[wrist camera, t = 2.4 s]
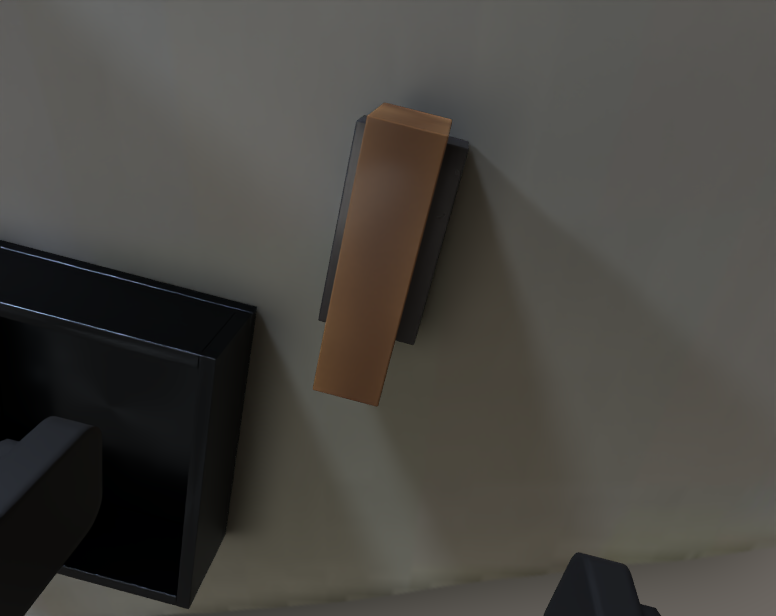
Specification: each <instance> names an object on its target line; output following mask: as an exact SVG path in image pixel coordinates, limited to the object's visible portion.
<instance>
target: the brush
mask: <svg viewBox="0 0 776 616" xmlns="http://www.w3.org/2000/svg"><path fill="white" fill-rule="evenodd" d="M451 124H452V120H451V119H448V118H444V117H440V116H436V115H432V114H428V113H424V112H420V111H416V110H412V109H408V108H404V107H400V106H397V105H393V104H389V103H383V104H382V105H381V106H379V107H378V108H377V109H375V110H374V111H373V112H372V113H370V114H369V115H368V116H367V115H364V116H363V117H361V118H360V119H359V120H357V121H356V126H355V132H354V137H353V142H352V147H351V152H350V158H349V163H348V168H347V173H346V178H345V184H344V189H343V194H342V199H341V204H340V210H339V215H338V220H337V225H336V230H335V236H334V241H333V246H332V251H331V256H330V262H329V267H328V272H327V277H326V282H325V288H324V293H323V298H322V303H321V308H320V313H319V321H323V322H326V325H325V330H324V335H323V340H322V345H321V350H320V355H319V360H318V365H317V370H316V375H315V380H314V385H313V390H316V391H320V392H324V393H327V394H331V395H335V396H339V397H343V398H346V399H350V400H354V401H358V402H362V403H365V404H369V405H373V406H378V404H379V400H380V397H381V393H382V389H383V385H384V381H385V378H386V374H387V370H388V366H389V362H390V359H391V355H392V351H393V347H394V343H395V340H396V341H400V342H404V343H407V344H411V345H414V343H415V339H416V336H417V332H418V329H419V325H420V322H421V318H422V314H423V311H424V307H425V304H426V300H427V297H428V293H429V289H430V286H431V282H432V279H433V275H434V272H435V268H436V265H437V261H438V257H439V254H440V250H441V247H442V243H443V240H444V236H445V232H446V229H447V225H448V222H449V218H450V215H451V211H452V208H453V204H454V200H455V197H456V193H457V190H458V186H459V183H460V179H461V175H462V172H463V168H464V165H465V161H466V158H467V154H468V150H469V142H468V141H465V140H461V139H457V138H453V137H449V134H450V129H451Z"/></svg>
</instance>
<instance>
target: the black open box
mask: <svg viewBox="0 0 776 616" xmlns="http://www.w3.org/2000/svg"><path fill="white" fill-rule="evenodd" d="M256 311H257V307H255V306H251V305H247V304H243V303H240V302H236V301H232V300H228V299H224V298H220V297H217V296H213V295H209V294H205V293H201V292H197V291H194V290H190V289H186V288H182V287H178V286H174V285H171V284H167V283H163V282H159V281H155V280H151V279H148V278H144V277H140V276H136V275H132V274H128V273H125V272H121V271H117V270H113V269H109V268H105V267H102V266H98V265H94V264H90V263H86V262H82V261H79V260H75V259H71V258H67V257H63V256H59V255H56V254H52V253H48V252H44V251H40V250H37V249H33V248H29V247H25V246H21V245H17V244H14V243H10V242H6V241H2V240H0V442H1V441H3V440H5V439H11V440H15V441H20V440H22V439H23V438H24V437H25V436H26V435H27V434H28V433H29V432H30V431H32V430H33V429H34V428H35V427H36V426H37V425H38V424H39V423H40V422H42V421H43V420H44V419H46V418H48V417H50V416H57V417H61V418H65V419H68V420H72V421H76V422H80V423H84V424H88V425H92V426H96V427H98V428H99V429H100V430H101V433H102V501H101V505H100V509H99V512H98V514H97V517H96V519H95V521H94V523H93V525H92V527H91V528H90V530H89V531H88V533H87V534H86V536H85V537H84V538H83V540H82V541H81V542H80V543H79V545H78V546H77V547H76V549H75V550H74V551H73V552H72V554H71V555H70V556H69V558H68V559H67V560H66V562H65V563H64V564H63V565H62V567H61V568H60V569H59V571H58V572H57V573H58V574H62V575H65V576H69V577H73V578H76V579H80V580H84V581H88V582H91V583H95V584H99V585H102V586H106V587H110V588H113V589H117V590H121V591H124V592H128V593H132V594H135V595H139V596H143V597H146V598H150V599H154V600H157V601H161V602H165V603H168V604H172V605H176V606H179V607H183V608H186V609H189V608H190V606H191V604H192V602H193V600H194V597H195V595H196V593H197V591H198V589H199V587H200V585H201V583H202V581H203V579H204V577H205V575H206V573H207V571H208V569H209V567H210V565H211V563H212V561H213V559H214V557H215V555H216V553H217V551H218V549H219V547H220V545H221V542H222V540H223V538H224V536H225V534H226V527H227V520H228V513H229V506H230V498H231V491H232V484H233V477H234V469H235V462H236V455H237V448H238V441H239V433H240V426H241V419H242V412H243V404H244V397H245V390H246V383H247V376H248V368H249V361H250V354H251V347H252V339H253V332H254V325H255V318H256Z"/></svg>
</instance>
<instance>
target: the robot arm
mask: <svg viewBox="0 0 776 616" xmlns="http://www.w3.org/2000/svg"><path fill="white" fill-rule="evenodd" d="M101 501H102V433H101V430H100V429H99V428H98V427H96V426H92V425H88V424H84V423H80V422H76V421H72V420H68V419H65V418H61V417H57V416H50V417H48V418H46V419H44V420H43V421H42V422H40V423H39V424H38V425H37V426H36V427H35V428H34V429H33V430H32V431H30V432H29V433H28V434H27V435H26V436H25V437H24V438H23V439H22V440H20V441H15V440H11V439H5V440H3V441H1V442H0V616H24V615H25V614H26V612H27V611H28V610H29V608H30V607H31V606H32V604H33V603H34V602H35V601H36V599H37V598H38V597H39V595H40V594H41V593H42V591H43V590H44V589H45V588H46V586H47V585H48V584H49V582H50V581H51V580H52V578H53V577H54V576H55V575H56V573H57V572H58V571H59V569H60V568H61V567H62V565H63V564H64V563H65V562H66V560H67V559H68V558H69V556H70V555H71V554H72V552H73V551H74V550H75V549H76V547H77V546H78V545H79V543H80V542H81V541H82V540H83V538H84V537H85V536H86V534H87V533H88V531H89V530H90V528H91V527H92V525H93V523H94V521H95V519H96V517H97V514H98V512H99V509H100V505H101ZM544 616H661V615H660V614H659V612H658V611H657V609H656V608H654V607H650V606H646V605H642V604H640V602H639V599H638V596H637V592H636V589H635V586H634V582H633V579H632V576H631V573H630V571H629V569H628V567H627V566H626V565H625V564H622V563H618V562H614V561H610V560H607V559H603V558H599V557H595V556H591V555H587V554H583V553H579V552H578V553H576V554H574V556H573V557H572V558H571V560H570V562H569V564H568V566H567V568H566V570H565V572H564V574H563V576H562V578H561V580H560V582H559V584H558V586H557V588H556V590H555V592H554V594H553V596H552V598H551V600H550V603H549V604H548V607H547V608H546V611H545V613H544Z"/></svg>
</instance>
